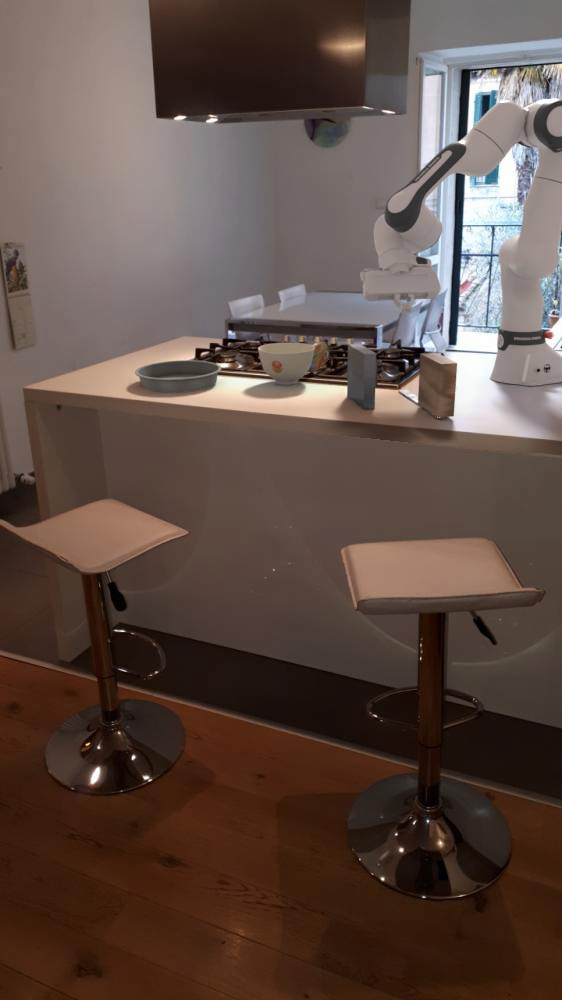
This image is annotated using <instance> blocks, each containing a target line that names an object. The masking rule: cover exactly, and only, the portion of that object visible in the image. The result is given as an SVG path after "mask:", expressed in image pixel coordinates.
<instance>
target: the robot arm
mask: <svg viewBox="0 0 562 1000" xmlns="http://www.w3.org/2000/svg"><path fill="white" fill-rule="evenodd" d="M516 144H519V145H521V146H523V147H525V148H536V149H538V150H537V151H538V153H539V158H538V159H539V160H538V164H537V167H536V170H535V172H534V175H533V178H532V181H531V184H530V187H529V189H528V193H527V196H526V198H525V200H524V204H523V206H522V214H523V215H522V222H521V227H520V232H519V234H516V235H513V236H511V237H509V238H507V239H505V241H503V242H502V244H501V245H500V247H499V250H498V262H499V265H500V284H501V297H502V298H501V299H502V301H501V314H500V326H499V328H498V331H497V332H498V333H497V334H498V335H497V339H496V340H497V343H496V345H497V347H496V348H497V352H496V356H495V360H494V365H493V368H492V371H491V374H490V377H489V378H490V379H491V380H492V381H496V382H499V383H503V384H511V385H512V384H513V385H521V386H528V387H535V386H542V385H551V384H556V383H557V384H559V383H562V354H560V353H559V352H557V351H556V350H555V349H554V348H553V347H552V346H550V345H549V344H548V343H547V340H546V339H548V340H552V339H553V338H554V337H555V334H554V332H553V331H549V330H547V331H546V330H544V329H542V326H543V325H542V324H543V315H544V305H545V298H544V295H543V292H542V285H541V284H542V283H541V282H542V281H541V280H542V279H545V278H549V276H551V275H552V274H554V272H555V271H556V269H557V267H558V266H559V265H558V264H559V260H560V259H559V257H560V256H559V246H560V242H561V241H560V240H561V235H562V98H559V97H558V98H557V97H556V98H555V97H554V98H546V99H540V100H537V101H536V102H532V103H529V104H526V105H523V106H520V105H519V104H517V103H516V102H514V101H512V100H508V99H507V100H506V99H505V100H504V99H503V100H499V101H498V102H497V103H495V104H494V105H493V106H492V107H491V108H489V109H488V110H487V111H486V113H484V114H483V116H482V117H480V119H479V120H478V121H477V122H476V124H474V126H473V127H472V128H471V129H470V131H468V133H467V134H466V135H465V136H464V137H462V138H461V139H460V140H458V141H453V142H451V143H449V144H448V145H446V146H445V147H444V148H442V149H441V150H440V151H439V152H438V153H437V154H435V156H434V157H432V159H431V160H430V161H429V162H428V163H427V164H425V166H424V167H423V168H421V170H420V171H419V172H418V173H417V174H416V175H415V176H414V177H413V178H412V179H411V180H409V182H408V183H406V184H405V185H404V186H403V187H402V188H400V189H398V190H397V191H396V192H395V193H393V194H392V195H391V196H390V197H389V199H388V200H387V202H386V205H385V207H384V214H382V215H380V216H379V217H378V218H377V220H376V221H375V223H374V227H373V241H374V247H375V251H376V253H377V256H378V258H377V261H378V262H377V263H378V266H379V267H377V268H364V269H363V270H361V271H360V273H359V277H360V278H359V279H360V281H361V283H362V294H363V299H364V300H365V301H367V302H374V301H375V302H380V301H381V302H384V301H392V302H393V304H394V305H395V306H396V307H397V308H398V310H399V313H400V314H401V313H403V314H404V313H412V311H413V306H412V304H413V301H414V300H435V299H437V298H438V296H439V295H440V292H441V290H442V289H441V288H442V287H441V283H440V280H439V277H438V275H437V272H436V271H435V269H434V268H433V267H432V263H433V262H432V260H431V259H430V258H427V257H423V256H420V255H417V254H418V253H421V252H423V251H426V250H429V249H430V248H433V246H435V245H436V243H437V242H438V241H439V239H440V238H441V235H442V231H443V226H442V225H443V224H442V222H441V221H440V219H439V218H438V217H437V215H435V213H434V212H433V210H431V209H430V208H429V207H428V206H427V205H426V199H427V198H428V197H429V196H430V195H431V194H432V193H433V192H434V191H435V190H436V189H437V188H438V187H439V186H440V185H441V184H442V182H444V181H445V180H446V179H448V177H449V176H451V175H454V174H462V175H464V176H467V177H470V178H480V177H481V178H483V177H485V176H487V175H489V174H491V173H493V171H494V170H495V169H496V168H497V167H498V166H499V164H501V162H502V161H503V160H504V158H506V156H507V154H508V153H509V152H510V150H511V149H512V148H513V147H515V145H516ZM402 301H406V303H405V302H402Z"/></svg>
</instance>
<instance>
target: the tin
mask: <svg viewBox="0 0 562 1000" xmlns="http://www.w3.org/2000/svg"><path fill="white" fill-rule="evenodd" d="M311 345H312V346H314V347H315V350H314V354H313V359H312V363H311V366H310V369H309V370H308V372H310V373H314V372H315V371H316V370H318V369H319V368H320V367H321V366H322V365H324V364H325V363H326V362H327V361H328V360H331V352H330V351H331V349H330V347H329V343H328V342H327V341H317V342H315V343H313V344H311Z"/></svg>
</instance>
